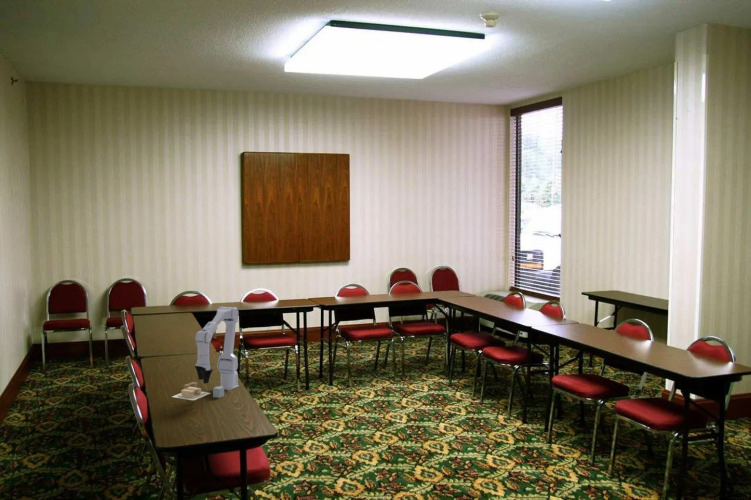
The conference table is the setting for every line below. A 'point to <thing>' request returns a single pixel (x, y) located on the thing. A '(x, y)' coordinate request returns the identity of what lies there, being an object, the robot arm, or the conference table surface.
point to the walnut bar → (190, 385)
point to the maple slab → (191, 392)
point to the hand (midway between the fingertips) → (203, 381)
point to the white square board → (191, 397)
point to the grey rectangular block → (218, 392)
